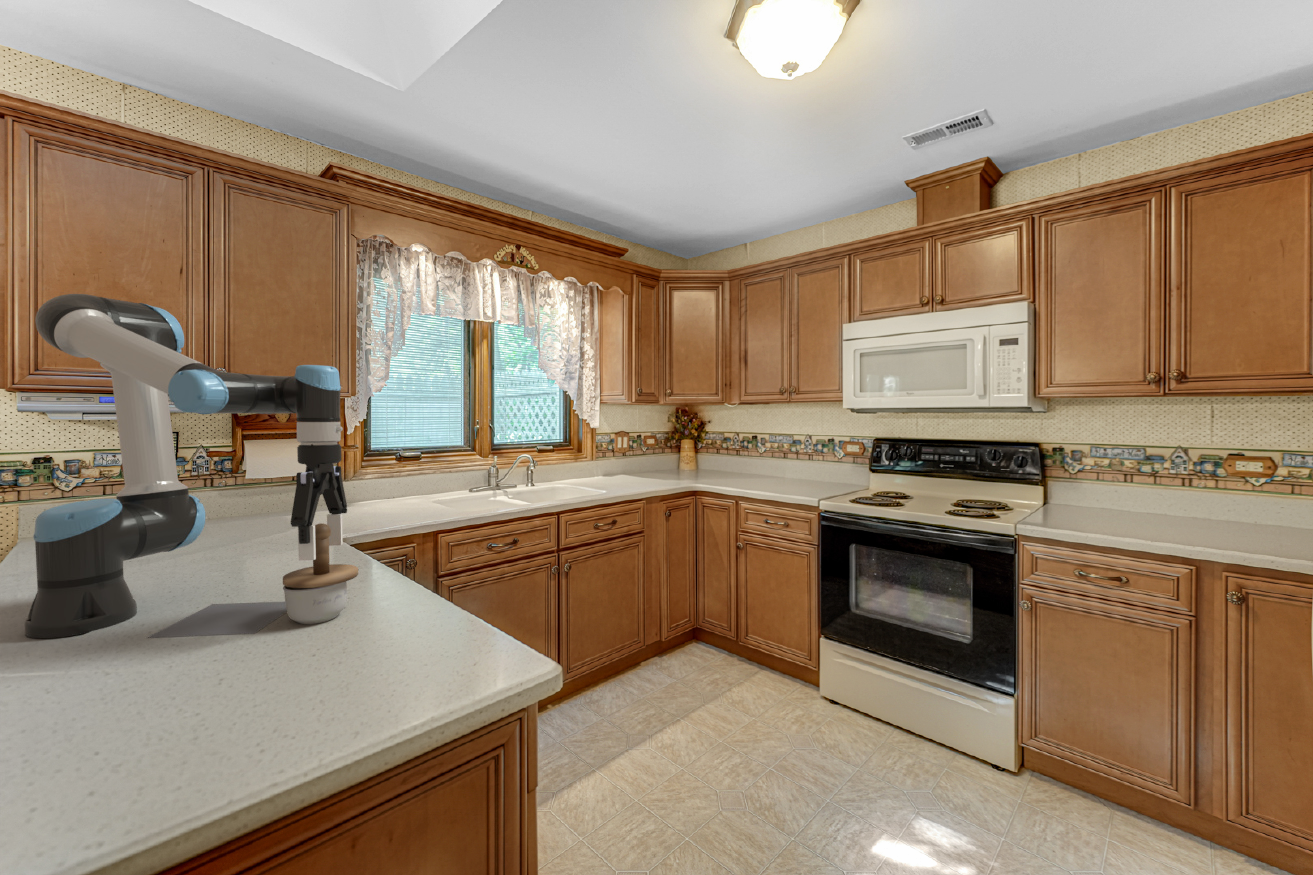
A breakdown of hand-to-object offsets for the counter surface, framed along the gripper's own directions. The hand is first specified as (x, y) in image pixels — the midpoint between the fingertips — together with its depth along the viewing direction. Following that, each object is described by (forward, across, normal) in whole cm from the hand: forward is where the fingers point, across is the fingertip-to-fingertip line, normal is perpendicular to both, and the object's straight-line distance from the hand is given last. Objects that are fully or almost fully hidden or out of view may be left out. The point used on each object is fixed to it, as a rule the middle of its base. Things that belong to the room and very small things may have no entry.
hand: (321, 552), depth 112 cm
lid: (+5, 0, 0) cm, 5 cm away
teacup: (+13, 0, 0) cm, 13 cm away
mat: (+13, 0, +17) cm, 21 cm away
